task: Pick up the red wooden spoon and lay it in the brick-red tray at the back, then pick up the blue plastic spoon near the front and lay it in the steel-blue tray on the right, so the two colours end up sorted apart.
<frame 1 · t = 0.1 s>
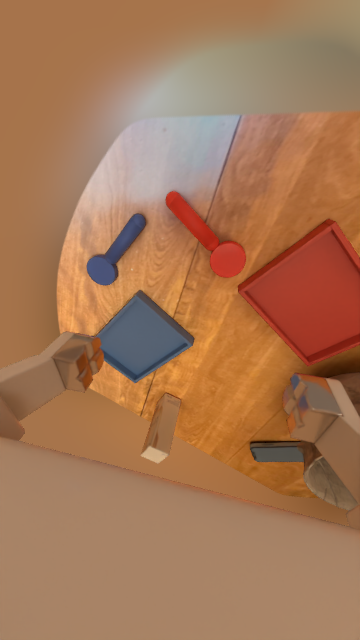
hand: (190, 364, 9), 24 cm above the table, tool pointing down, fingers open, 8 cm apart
blue spoon: (119, 249, 32), on the table
red spoon: (205, 233, 29), on the table
cosmetic box: (168, 401, 52), on the table
red tray: (314, 301, 31), on the table
bowl: (346, 390, 39), on the table
blue tray: (139, 339, 42), on the table
smartphone: (282, 447, 54), on the table
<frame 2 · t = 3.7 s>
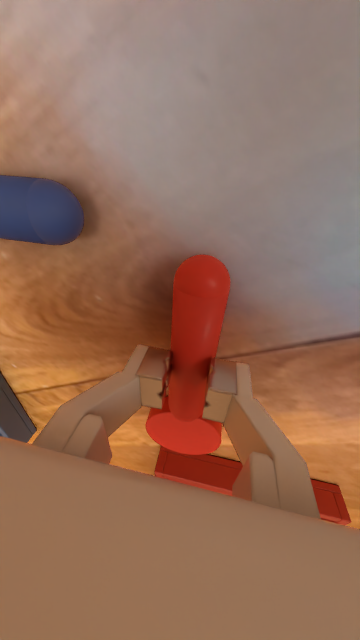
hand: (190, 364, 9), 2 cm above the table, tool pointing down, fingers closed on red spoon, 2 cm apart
red spoon: (191, 371, 12), on the table, touching gripper
red tray: (224, 502, 21), on the table
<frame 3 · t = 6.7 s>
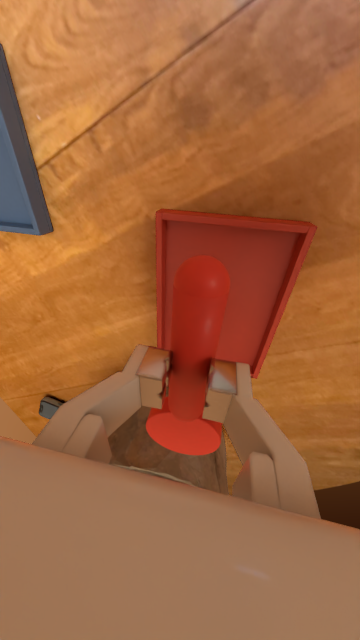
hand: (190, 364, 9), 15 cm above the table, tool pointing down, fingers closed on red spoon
red spoon: (191, 371, 12), point 14 cm above the table, touching gripper
red tray: (216, 302, 24), on the table
bowl: (170, 398, 37), on the table
smartphone: (77, 414, 47), on the table
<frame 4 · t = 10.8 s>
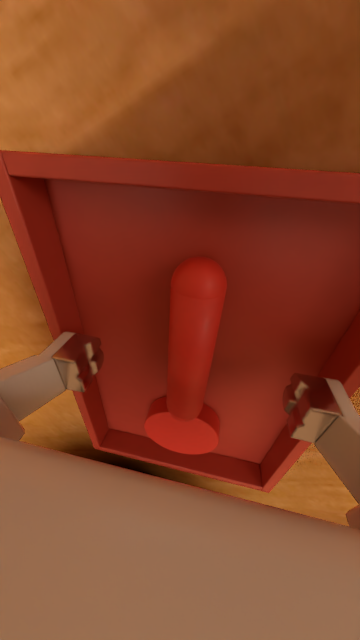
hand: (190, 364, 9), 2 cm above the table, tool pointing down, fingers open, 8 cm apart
red spoon: (189, 371, 12), resting on red tray
red tray: (191, 364, 12), on the table
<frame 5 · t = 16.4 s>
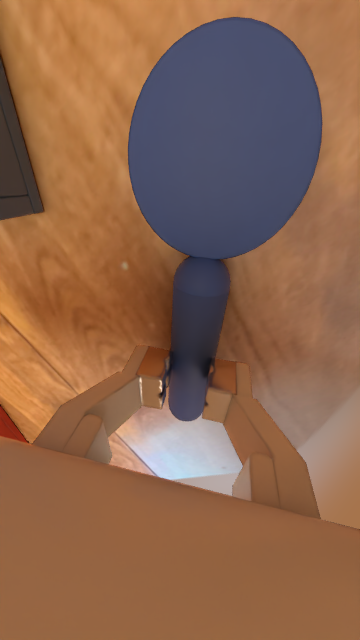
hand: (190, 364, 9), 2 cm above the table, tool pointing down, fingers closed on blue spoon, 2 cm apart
blue spoon: (200, 301, 9), on the table, touching gripper
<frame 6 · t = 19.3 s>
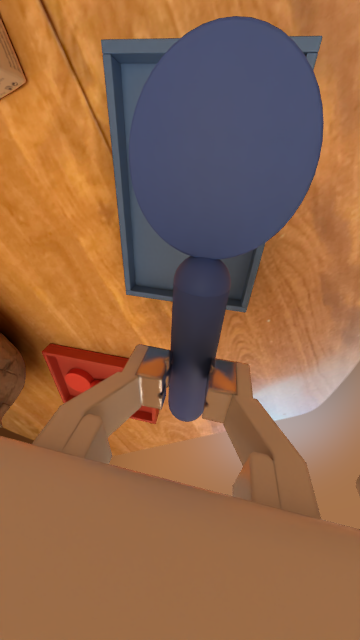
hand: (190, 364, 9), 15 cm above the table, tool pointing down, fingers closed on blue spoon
blue spoon: (201, 301, 9), point 14 cm above the table, touching gripper
red spoon: (106, 383, 36), resting on red tray
red tray: (108, 381, 37), on the table
blue tray: (194, 206, 19), on the table
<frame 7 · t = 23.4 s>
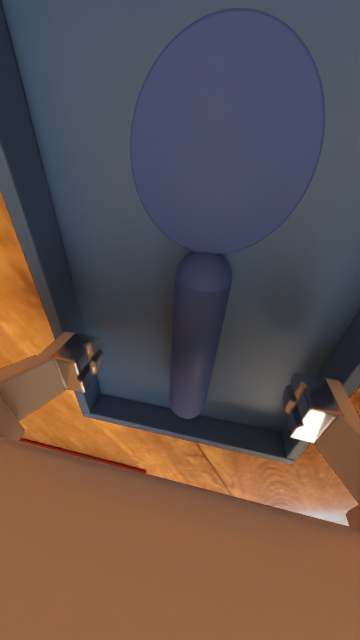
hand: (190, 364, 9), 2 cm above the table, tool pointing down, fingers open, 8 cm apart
blue spoon: (201, 297, 9), resting on blue tray
red tray: (79, 474, 27), on the table
blue tray: (201, 294, 9), on the table
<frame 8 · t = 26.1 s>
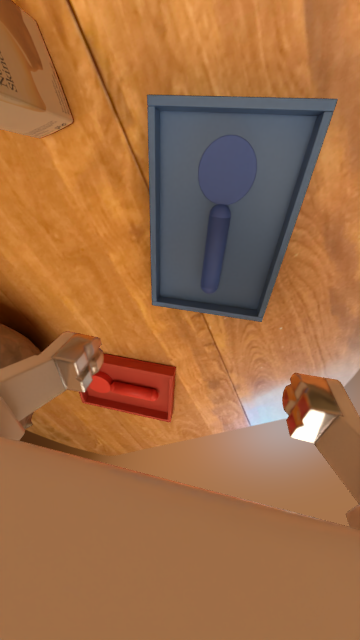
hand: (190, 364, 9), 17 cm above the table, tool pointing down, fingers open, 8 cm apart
blue spoon: (218, 228, 21), resting on blue tray
red spoon: (124, 384, 39), resting on red tray
cosmetic box: (39, 84, 18), on the table
red tray: (126, 382, 39), on the table
bowl: (19, 342, 39), on the table
blue tray: (217, 228, 22), on the table
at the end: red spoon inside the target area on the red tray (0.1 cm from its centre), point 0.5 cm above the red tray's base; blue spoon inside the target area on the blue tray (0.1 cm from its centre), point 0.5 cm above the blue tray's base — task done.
